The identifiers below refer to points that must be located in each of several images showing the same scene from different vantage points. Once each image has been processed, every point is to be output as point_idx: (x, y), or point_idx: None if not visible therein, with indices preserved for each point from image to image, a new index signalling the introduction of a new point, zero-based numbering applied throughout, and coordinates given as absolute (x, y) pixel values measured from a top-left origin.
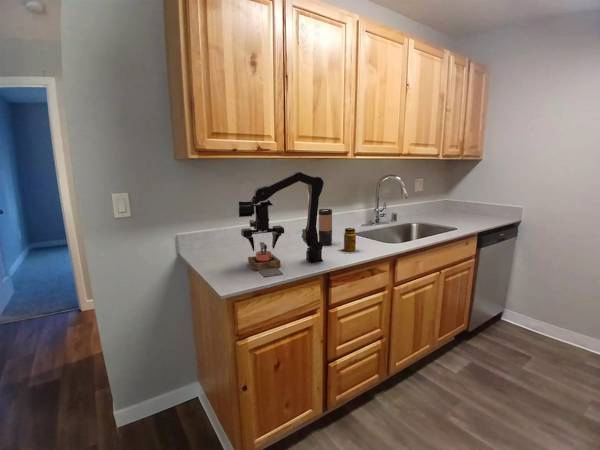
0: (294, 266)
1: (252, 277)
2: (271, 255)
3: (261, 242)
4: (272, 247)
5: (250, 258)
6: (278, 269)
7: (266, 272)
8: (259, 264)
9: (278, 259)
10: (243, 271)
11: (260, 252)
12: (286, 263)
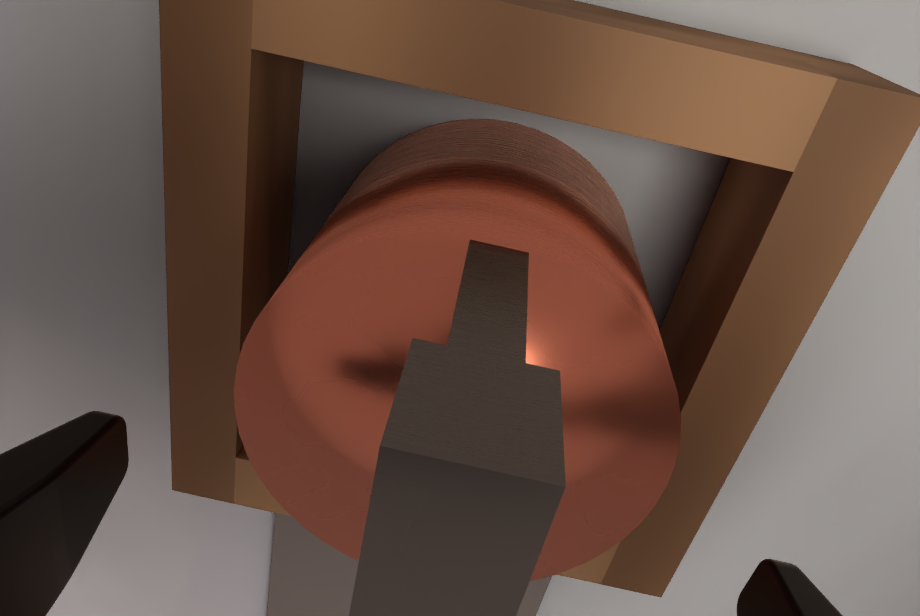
0: (838, 578)
1: (146, 562)
2: (795, 206)
3: (450, 511)
4: (773, 576)
5: (193, 106)
6: (541, 579)
7: (345, 570)
8: (276, 501)
9: (695, 525)
10: (61, 329)
11: (388, 366)
12: (871, 417)
